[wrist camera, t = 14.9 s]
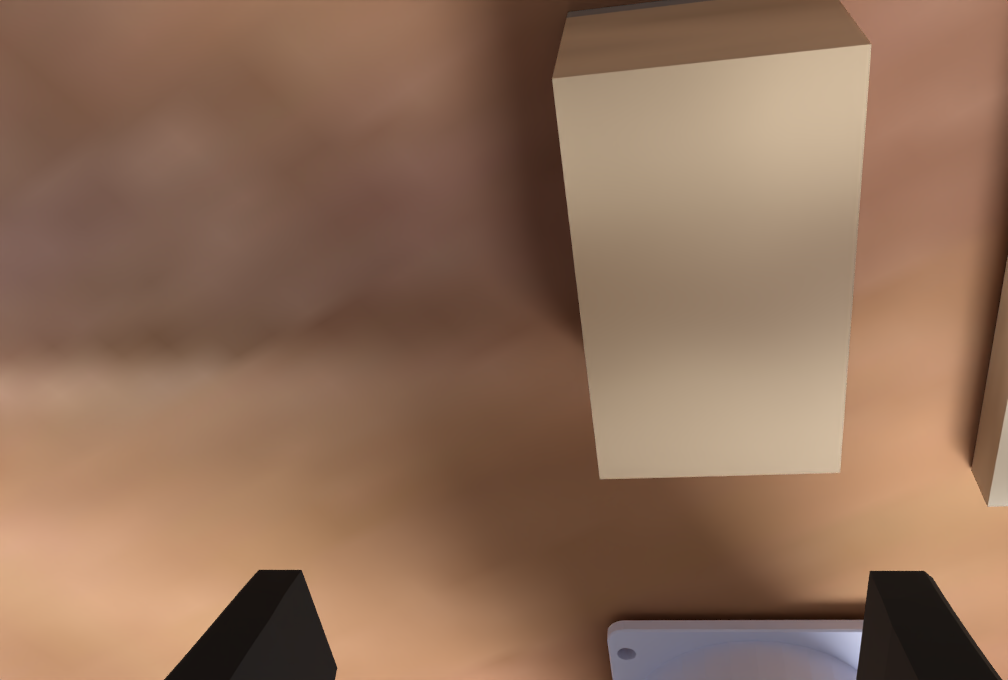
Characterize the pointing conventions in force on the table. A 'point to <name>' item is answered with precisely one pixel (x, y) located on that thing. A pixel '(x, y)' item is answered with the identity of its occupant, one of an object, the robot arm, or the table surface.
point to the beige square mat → (995, 416)
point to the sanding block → (714, 229)
